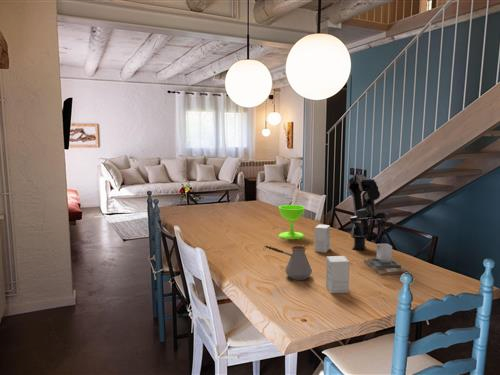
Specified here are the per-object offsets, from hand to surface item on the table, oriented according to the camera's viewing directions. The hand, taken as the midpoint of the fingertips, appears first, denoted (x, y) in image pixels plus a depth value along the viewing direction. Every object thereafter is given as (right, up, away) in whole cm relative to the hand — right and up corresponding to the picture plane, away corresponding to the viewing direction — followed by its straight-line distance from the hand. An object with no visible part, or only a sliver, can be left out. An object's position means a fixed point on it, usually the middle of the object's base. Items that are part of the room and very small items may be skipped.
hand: (370, 235), depth 186 cm
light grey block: (+4, -12, -7) cm, 15 cm away
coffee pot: (-42, -16, -21) cm, 49 cm away
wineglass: (-33, -7, +50) cm, 60 cm away
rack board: (+4, -13, -9) cm, 16 cm away
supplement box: (-24, -17, -34) cm, 45 cm away
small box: (-19, -10, +20) cm, 30 cm away
